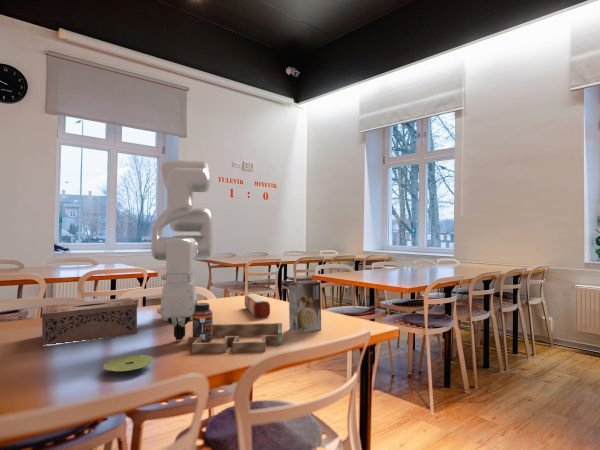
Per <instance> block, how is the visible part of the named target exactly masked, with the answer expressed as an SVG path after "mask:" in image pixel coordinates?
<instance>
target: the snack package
mask: <svg viewBox="0 0 600 450" xmlns="http://www.w3.org/2000/svg"><path fill="white" fill-rule="evenodd" d="M244 307H245V308H247V310H249V312H250V313H251V314H252V315H253V316H254V317H255V318H257V319H265V318H268V317H269V316H270V314H271V304H270V302H269V301H268V300H266V299H264V298H262V297H261V296H260V295H258V294H256V293H251V294H250V293H248V294H246V295H245V296H244Z"/></svg>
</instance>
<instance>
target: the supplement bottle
mask: <svg viewBox="0 0 600 450" xmlns="http://www.w3.org/2000/svg"><path fill="white" fill-rule="evenodd" d="M212 327H213V311H212V310H211V308H210V303H209V302H197V304H196V311H195V314H194V315H193V320H192V337H201V343H211V342H212V340H213V337H214V336H212V335H213V334H212V330H213V329H212Z"/></svg>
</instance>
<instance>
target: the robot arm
mask: <svg viewBox="0 0 600 450" xmlns="http://www.w3.org/2000/svg"><path fill="white" fill-rule="evenodd" d="M160 171H161V177H162V181H163V184H164V186H165V188H166V208H165V210H163V211H162V212H161V213H160V214H159V216H157V218H156V219H155V221H154V223H153V225H152V228H151V241H150V242H151V243H150V250H151V256H152V257H153V259H154V260H155V261H162V262H163V261H165V263H166V264H165V267H166V268H165V272H166V273H165V274H164V275H163V274H162V275H161V280H164V281H165V283H163V285H162V289H161V297H160V307H158V308H156V309H157V310H156V311H157V314H159V315H160V317H161V320H162V321H165V322H168V323H170V324H171V326H172V327H173V337H174V338H175V340H176V341H182V340H183V339H184V337H186V325H187V324H188V323H189V322H191V321H193V315H194V314H195V311H196V304H197V303H198V301H197V300H198V299H197V290H196V289H197V288H196V285H195V272H194V270H193V261H204V260H206V261H207V260H209V259H211V258H212V257H213V253H214V244H213V242H214V241H213V240H214V238H213V231H214V230H213V217H212V213H211V211H210V209H209V208H206V207H194V205H193V204H194V202H193V200H194V199H193V197H194V196H193V193H208V191H209V190H210V188H211V173H210V168H209V164H208V163H207V162H206V161H201V160H200V161H198V160H196V161H195V160H180V159H179V160H177V159H176V160H173V159H172V160H166V161H164V162H162V164H161V165H160ZM167 225H169V227H170V230H171V231H173V232H176V233H199V234H200V235H192V234H191V235H190V234H189V235H183V234H181V235H173V236H161V234H162V231H163V229H164V228H165V227H166V226H167Z"/></svg>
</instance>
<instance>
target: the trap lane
mask: <svg viewBox="0 0 600 450" xmlns="http://www.w3.org/2000/svg"><path fill="white" fill-rule="evenodd" d="M212 324H213V323H212ZM212 329H213V330H212V334H213V335H212V336H213V337H224V338H223V339H222V342H219V341H218V342H206V343H201V337H193V336H189V337H188V338H187V342H188V343H187V345H188V348H192V351H191V352H192V354H205V353H206V354H208V353H209V354H210V353H211V354H212V353H214V354H215V353H226V352H227V349H228V347H230V346H231V347H232V353H247V352H248V353H252V352H253V353H255V352H266V349H267V346H270V345H271V346H274V345H276V346H277V345H278V346H279V345H283V322H265V323H264V322H262V323H261V322H260V323H258V322H257V323H223V324H222V323H219V324H218V323H217V324H213V327H212ZM240 336H241V337H245V336H246V337H247V336H262V339H261V340H260V341H240Z"/></svg>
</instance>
